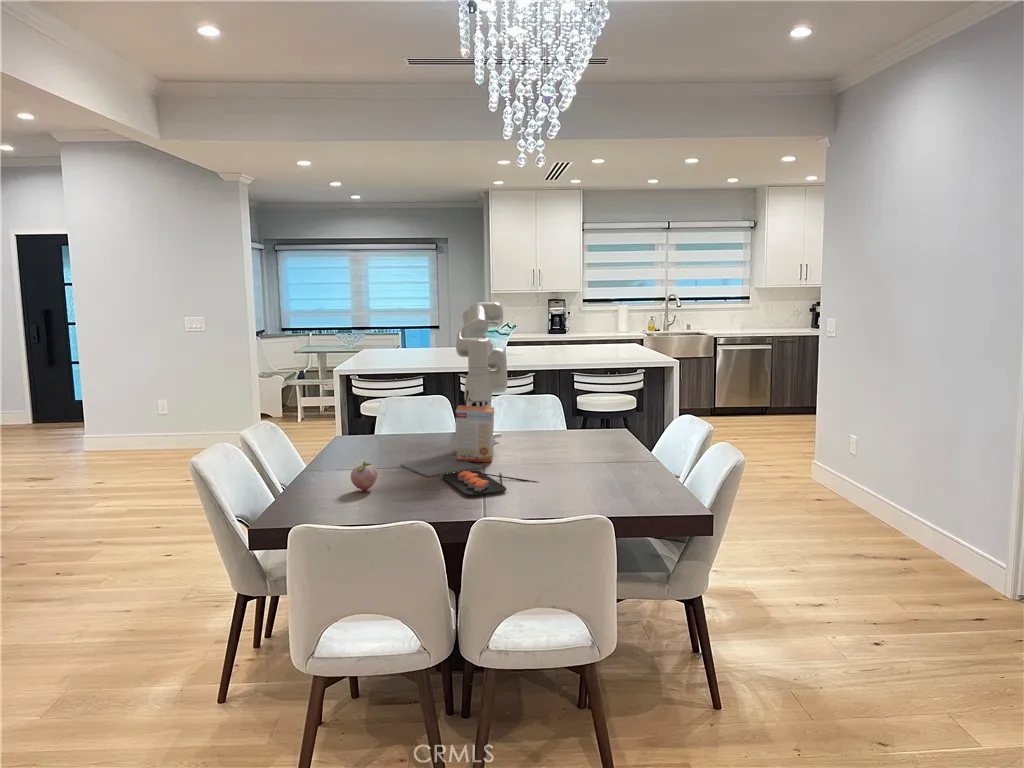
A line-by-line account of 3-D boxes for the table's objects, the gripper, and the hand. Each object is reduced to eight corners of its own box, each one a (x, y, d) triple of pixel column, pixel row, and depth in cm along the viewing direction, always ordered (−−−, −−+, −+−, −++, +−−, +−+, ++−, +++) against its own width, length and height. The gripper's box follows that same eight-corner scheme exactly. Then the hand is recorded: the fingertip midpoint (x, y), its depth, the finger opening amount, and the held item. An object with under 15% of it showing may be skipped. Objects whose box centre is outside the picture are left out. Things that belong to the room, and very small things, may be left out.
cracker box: (493, 456, 273) (494, 406, 266) (491, 463, 267) (492, 412, 260) (457, 454, 274) (458, 404, 267) (455, 460, 269) (455, 409, 262)
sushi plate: (439, 479, 247) (439, 468, 246) (517, 470, 259) (517, 460, 258) (467, 500, 220) (467, 489, 220) (553, 489, 232) (553, 478, 232)
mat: (451, 457, 278) (451, 456, 278) (480, 468, 260) (480, 466, 260) (400, 465, 265) (400, 464, 265) (427, 477, 247) (427, 475, 247)
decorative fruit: (355, 487, 236) (354, 458, 234) (379, 487, 235) (378, 458, 234) (348, 495, 226) (346, 464, 225) (373, 495, 226) (372, 464, 225)
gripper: (489, 369, 275) (490, 415, 277) (456, 372, 267) (457, 420, 269) (500, 371, 269) (500, 418, 271) (466, 373, 261) (467, 422, 263)
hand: (479, 419), depth 270 cm, fingers closed
